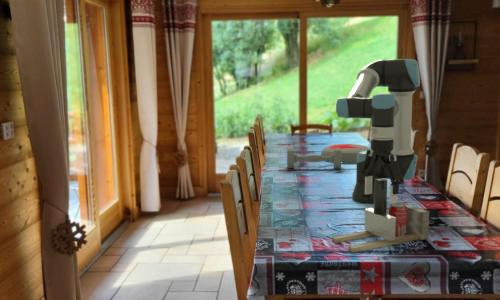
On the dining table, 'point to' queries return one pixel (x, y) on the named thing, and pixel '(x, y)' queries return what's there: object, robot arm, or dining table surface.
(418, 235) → the base
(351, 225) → the dining table surface
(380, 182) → the vice jaw
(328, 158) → the dumbbell
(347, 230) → the dining table surface
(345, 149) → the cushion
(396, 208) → the soda can
